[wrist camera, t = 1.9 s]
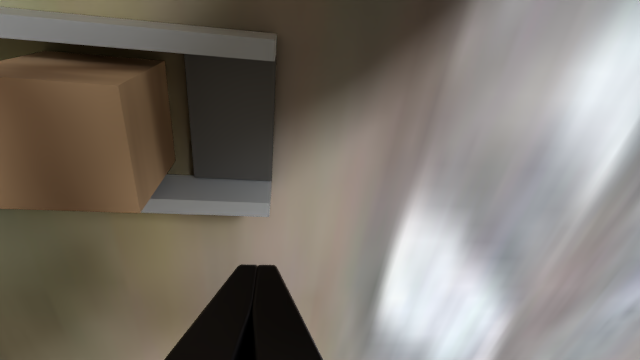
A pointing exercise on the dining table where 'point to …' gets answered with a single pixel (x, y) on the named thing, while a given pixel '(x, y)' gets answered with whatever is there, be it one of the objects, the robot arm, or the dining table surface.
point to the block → (83, 132)
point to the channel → (193, 102)
